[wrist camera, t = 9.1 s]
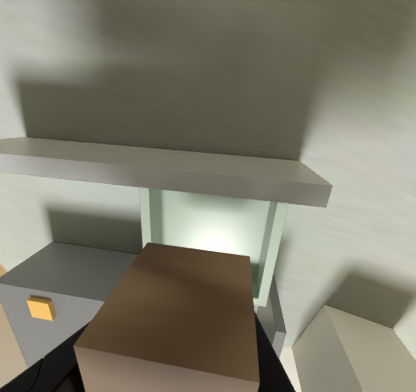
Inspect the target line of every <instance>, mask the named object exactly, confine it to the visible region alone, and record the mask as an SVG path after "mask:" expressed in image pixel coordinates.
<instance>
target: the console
mask: <svg viewBox="0 0 416 392" xmlns="http://www.w3.org/2000/svg"><path fill="white" fill-rule="evenodd" d="M138 255H139V254H133V253H126V252H119V251H112V250H105V249H98V248H92V247H85V246H78V245H71V244H64V243H57V242H52V243H50V244H49V245H47V246H46V247H44V248H43V249H41V250H40V251H38V252H37V253H35V254H34V255H32V256H31V257H29V258H28V259H27V260H25V261H24V262H22V263H21V264H19V265H18V266H16V267H15V268H13V269H12V270H10V271H9V272H7V273H6V274H5V275H3V276H1V277H0V301H1V304H2V306H3V308H4V311H5V313H6V316H7V318H8V321H9V323H10V326H11V328H12V331H13V333H14V335H15V338H16V340H17V343H18V345H19V348H20V350H21V353H22V355H23V357H24V360H25V362H26V365H27V366H28V367H30V366H32V365H33V364H34V363H36V362H37V361H38V360H40V359H41V358H44V356H45V355H46V354H48V353H49V352H50V351H52V350H53V349H54V348H56V347H57V346H58V345H59V344H61V343H62V342H63V341H65V340H66V339H67V338H69V337H70V336H71V335H73V334H74V333H75V332H77V331H78V330H79V329H81V328H82V327H83V326H84V325H86V324H87V323H88V322H90V321H91V320H92V319H93V318H94V316H95V315H96V313H97V312H98V311H99V309H100V308H101V306H102V305H103V304H104V302H105V301H106V299H107V298H108V297H109V295H110V294H111V293H112V291H113V290H114V288H115V287H116V286H117V284H118V283H119V281H120V280H121V279H122V277H123V276H124V274H125V273H126V272H127V270H128V269H129V267H130V266H131V265H132V263H133V262H134V261H135V259H136V258H137V256H138ZM257 316H258V318H259V320H260V322H261V324H262V326H263V328H264V330H265V332H266V334H267V336H268V338H269V340H270V342H271V344H272V346H273V348H274V350H275V352H276V354H277V356H278V358H279V357H280V353H281V350H282V346H283V343H284V339H285V336H286V329H285V325H284V320H283V315H282V311H281V306H280V301H279V297H278V292H277V288H276V283H275V278H274V274H273V276H272V281H271V285H270V290H269V294H268V299H267V303H266V307H264V306H259V309H258V314H257Z"/></svg>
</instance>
